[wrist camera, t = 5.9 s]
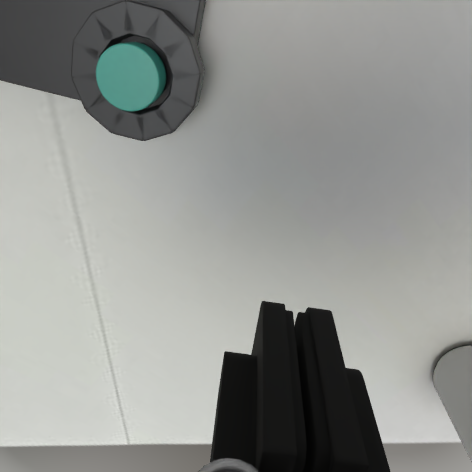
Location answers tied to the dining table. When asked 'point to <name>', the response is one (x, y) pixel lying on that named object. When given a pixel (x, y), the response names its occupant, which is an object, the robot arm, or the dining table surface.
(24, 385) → the dining table surface
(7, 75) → the dark grey flat block
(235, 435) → the robot arm
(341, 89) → the dining table surface
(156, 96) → the button
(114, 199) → the dining table surface
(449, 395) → the beverage can
